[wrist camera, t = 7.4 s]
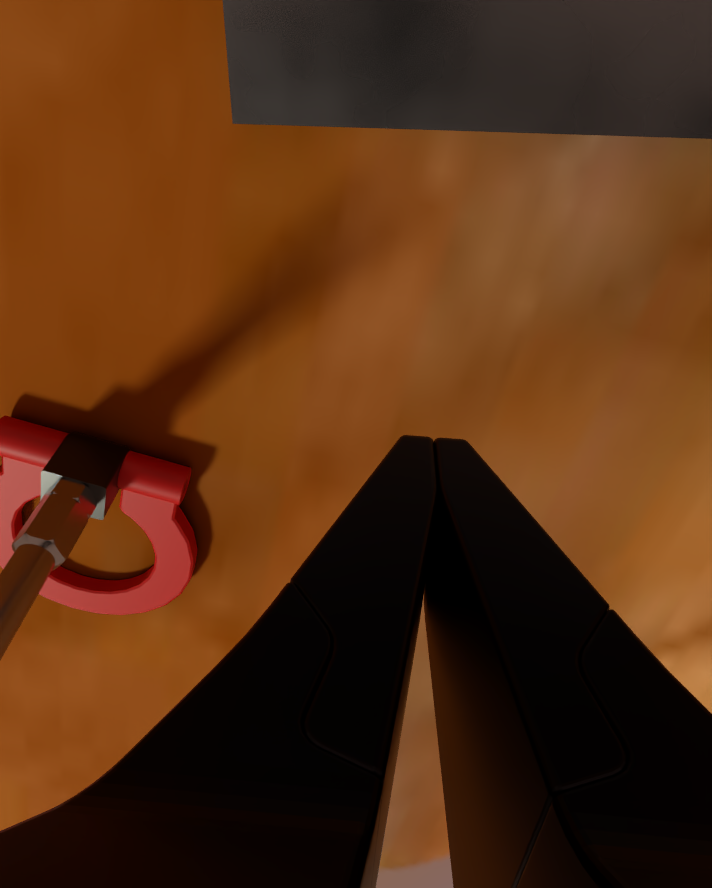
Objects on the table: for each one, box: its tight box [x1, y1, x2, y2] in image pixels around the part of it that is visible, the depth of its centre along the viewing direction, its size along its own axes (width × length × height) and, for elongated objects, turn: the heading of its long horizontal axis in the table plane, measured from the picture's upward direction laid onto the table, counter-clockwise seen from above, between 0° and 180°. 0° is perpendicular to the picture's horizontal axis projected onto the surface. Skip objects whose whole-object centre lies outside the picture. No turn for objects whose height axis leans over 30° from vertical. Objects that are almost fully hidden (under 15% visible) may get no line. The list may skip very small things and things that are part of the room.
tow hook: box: [0, 416, 198, 660], centre depth 21 cm, size 8×13×9 cm
